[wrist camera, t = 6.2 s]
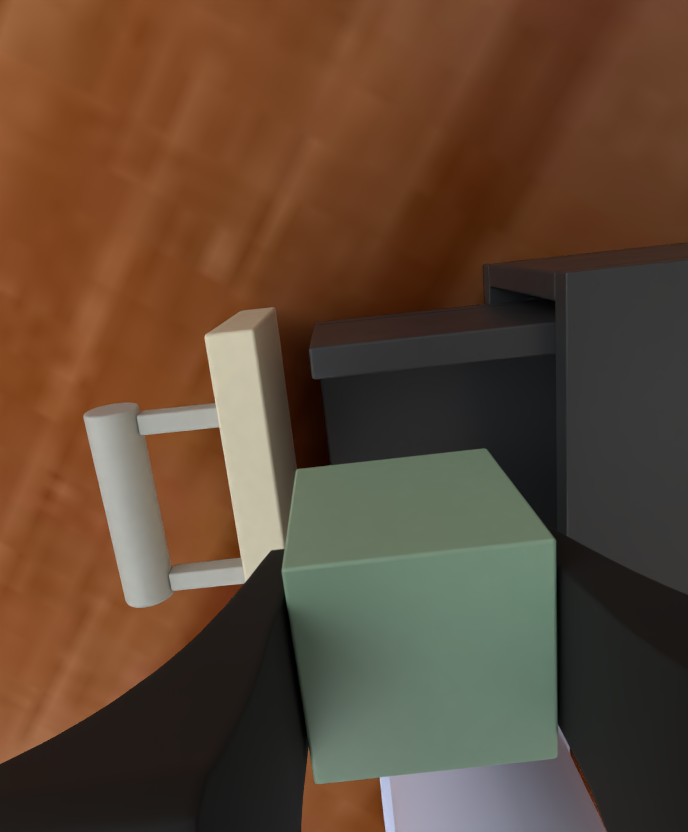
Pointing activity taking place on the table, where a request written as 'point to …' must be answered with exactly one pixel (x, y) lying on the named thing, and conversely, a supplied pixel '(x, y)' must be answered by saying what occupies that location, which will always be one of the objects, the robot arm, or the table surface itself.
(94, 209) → the table surface
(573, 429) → the small cabinet
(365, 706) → the block
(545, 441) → the drawer
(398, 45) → the table surface
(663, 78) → the table surface
